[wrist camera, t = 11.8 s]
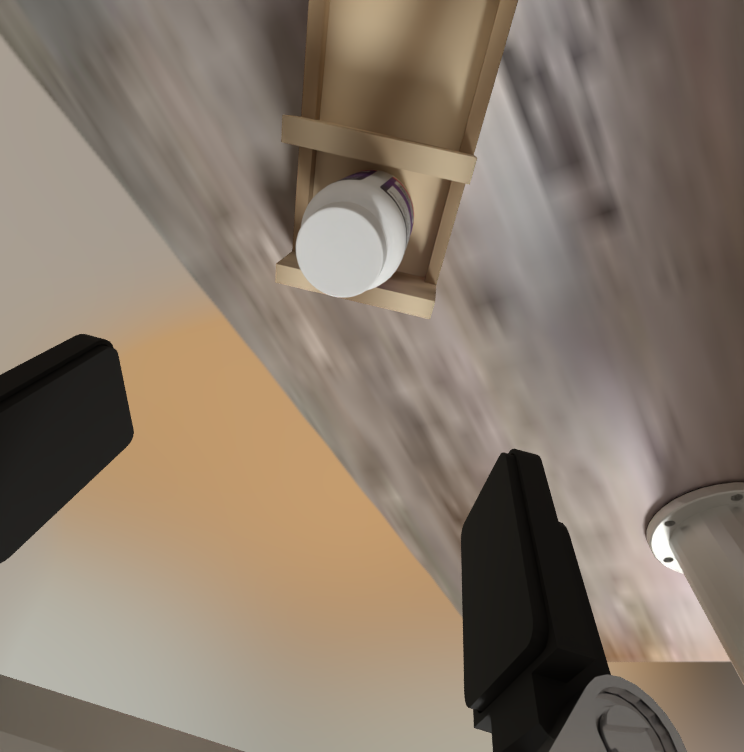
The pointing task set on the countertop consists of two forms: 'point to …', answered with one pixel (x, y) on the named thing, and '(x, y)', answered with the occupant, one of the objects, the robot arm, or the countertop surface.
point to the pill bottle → (355, 233)
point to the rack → (396, 118)
